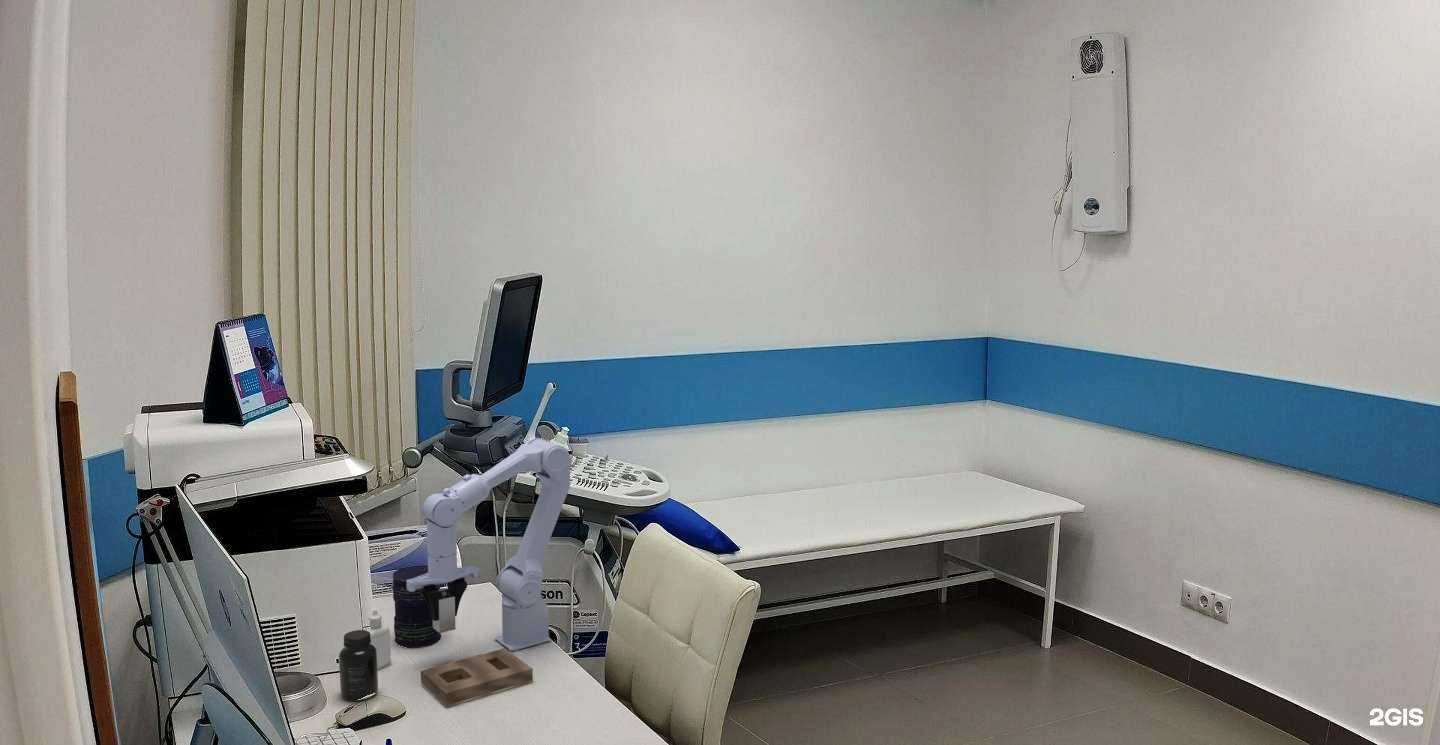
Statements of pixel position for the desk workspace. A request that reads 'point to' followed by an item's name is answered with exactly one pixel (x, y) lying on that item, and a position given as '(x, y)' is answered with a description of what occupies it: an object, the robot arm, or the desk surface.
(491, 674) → the socket board
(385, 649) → the eye dropper bottle
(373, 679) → the supplement bottle
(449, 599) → the light grey upright block
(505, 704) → the desk surface
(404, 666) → the desk surface
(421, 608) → the storage jar
